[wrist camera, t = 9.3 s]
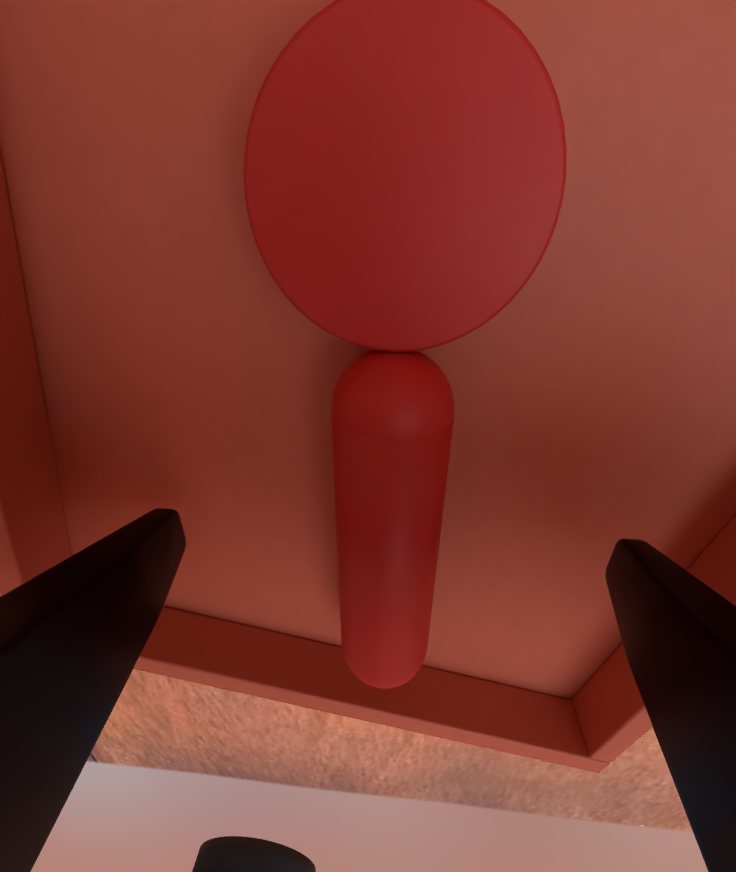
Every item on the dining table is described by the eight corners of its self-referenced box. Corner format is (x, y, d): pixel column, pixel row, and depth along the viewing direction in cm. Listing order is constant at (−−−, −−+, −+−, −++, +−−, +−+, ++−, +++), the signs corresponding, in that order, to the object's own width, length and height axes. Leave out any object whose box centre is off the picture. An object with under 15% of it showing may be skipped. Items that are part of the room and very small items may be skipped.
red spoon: (462, 635, 11) (471, 716, 10) (311, 622, 12) (293, 698, 10) (573, 9, 5) (648, -73, 4) (252, 19, 6) (181, -53, 4)
